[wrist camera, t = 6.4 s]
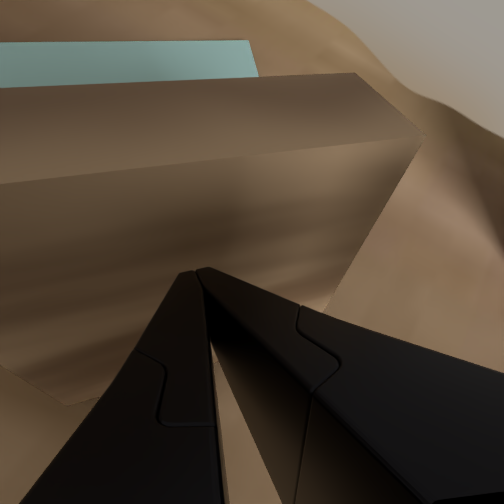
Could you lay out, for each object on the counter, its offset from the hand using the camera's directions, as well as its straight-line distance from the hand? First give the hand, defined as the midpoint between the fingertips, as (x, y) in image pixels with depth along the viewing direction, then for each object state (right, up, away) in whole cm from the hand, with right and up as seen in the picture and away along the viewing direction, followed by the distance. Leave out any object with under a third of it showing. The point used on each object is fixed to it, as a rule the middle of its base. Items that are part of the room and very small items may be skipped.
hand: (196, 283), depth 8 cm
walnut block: (-2, -4, +8) cm, 9 cm away
